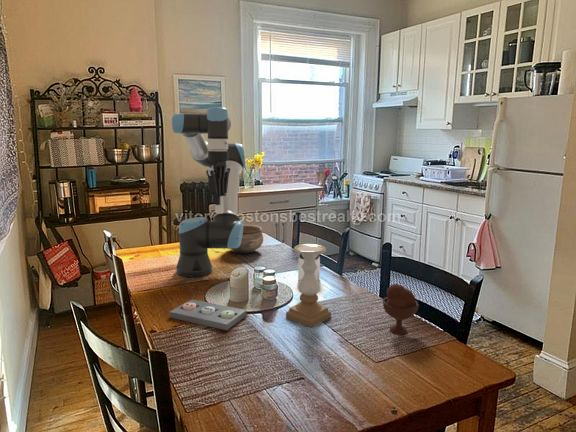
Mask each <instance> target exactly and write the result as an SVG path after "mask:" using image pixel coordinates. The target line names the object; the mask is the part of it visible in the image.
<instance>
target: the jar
mask: <svg viewBox="0 0 576 432" xmlns="http://www.w3.org/2000/svg"><path fill="white" fill-rule="evenodd" d="M298 254H299V253H298ZM303 263H304V258H303V256H302V254H299V256H298V268H297V269H298V270H297V271H298V272H297V278H298V281H301V279H302V278H303V276H304V271H303V269H302V265H303ZM315 263H316V265H317V269H316V271H315V273H314V274H315V277H316V279H317V280H318V281H319V279H320V274H321V273H320V272H321V271H320V269H321V268H320V266H321V265H320V263H321V257H320V254H318V256H317V257H316V259H315Z"/></svg>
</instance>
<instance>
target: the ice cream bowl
mask: <svg viewBox="0 0 576 432" xmlns="http://www.w3.org/2000/svg"><path fill="white" fill-rule="evenodd" d="M386 289H387V290H386V295H387V296H385V297H383V298H382V305H383V311H384V312H385V313H386V314H387V315H388V316H390V317H391V318H392V319H395V321H396V322H395V323H396V324H395V325H392V326H390V327H389V332H390V333H392V334H394V335H398V336H402V335H403V336H405V335H407V333H408V329H407V328H406V327H405V326H404V325H402V324H403V320H407V319H409V318H411V317H413V316H415V314H416V313H417V312H418V310H419V306H420V305H419V302H418V301H417V300H416V297H415V295H414V293H413V292H412V290H410V289H408V288H406V287H404V286H403V285H402V284H399V283H393V284H391V285H389V287H388V288H386Z"/></svg>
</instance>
